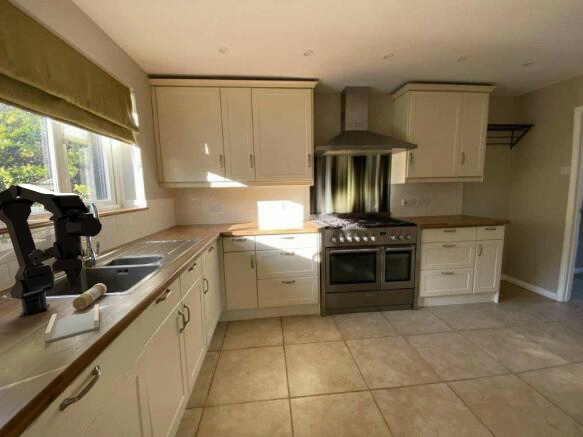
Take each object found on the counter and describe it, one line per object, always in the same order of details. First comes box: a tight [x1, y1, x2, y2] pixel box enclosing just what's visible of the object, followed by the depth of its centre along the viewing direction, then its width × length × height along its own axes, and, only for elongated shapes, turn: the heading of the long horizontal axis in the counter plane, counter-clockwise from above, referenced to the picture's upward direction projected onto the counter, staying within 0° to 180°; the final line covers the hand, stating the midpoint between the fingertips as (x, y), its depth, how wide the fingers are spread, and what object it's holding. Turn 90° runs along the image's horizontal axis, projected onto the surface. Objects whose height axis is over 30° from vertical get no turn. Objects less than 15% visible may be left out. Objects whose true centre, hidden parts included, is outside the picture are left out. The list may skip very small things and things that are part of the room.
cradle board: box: [44, 303, 100, 344], centre depth 73 cm, size 13×11×3 cm
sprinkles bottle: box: [72, 283, 108, 311], centre depth 89 cm, size 5×5×13 cm
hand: (73, 285), depth 76 cm, fingers closed
